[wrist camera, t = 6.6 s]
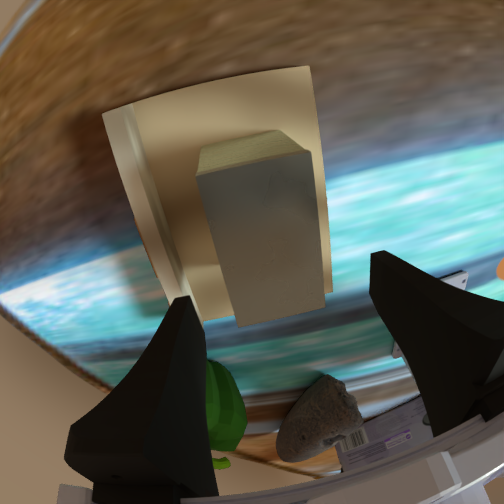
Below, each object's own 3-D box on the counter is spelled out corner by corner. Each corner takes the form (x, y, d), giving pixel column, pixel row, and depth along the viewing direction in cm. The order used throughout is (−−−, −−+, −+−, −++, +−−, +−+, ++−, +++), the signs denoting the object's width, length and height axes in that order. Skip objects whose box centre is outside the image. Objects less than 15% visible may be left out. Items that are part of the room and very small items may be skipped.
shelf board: (327, 282, 25) (343, 313, 22) (188, 313, 25) (187, 348, 22) (303, 66, 16) (323, 64, 13) (118, 107, 16) (98, 115, 13)
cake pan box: (331, 446, 42) (358, 542, 27) (323, 437, 40) (353, 542, 25) (440, 395, 40) (485, 482, 25) (442, 381, 38) (493, 475, 22)
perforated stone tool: (291, 433, 38) (302, 477, 32) (256, 430, 36) (264, 478, 30) (360, 365, 31) (383, 417, 25) (321, 359, 30) (341, 417, 24)
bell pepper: (134, 373, 28) (123, 465, 19) (180, 326, 25) (175, 435, 17) (204, 402, 31) (209, 487, 23) (256, 364, 29) (273, 459, 20)
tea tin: (199, 145, 17) (195, 176, 12) (280, 128, 17) (312, 151, 12) (230, 264, 21) (238, 327, 16) (298, 248, 21) (326, 306, 16)
